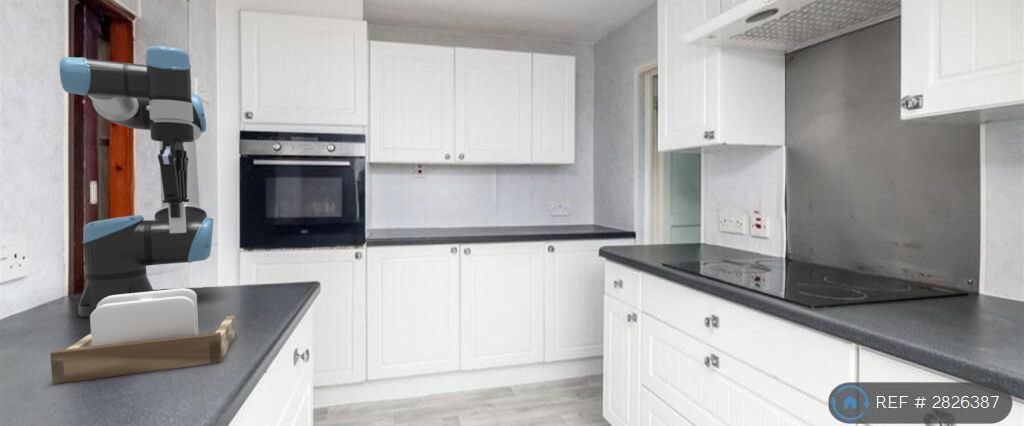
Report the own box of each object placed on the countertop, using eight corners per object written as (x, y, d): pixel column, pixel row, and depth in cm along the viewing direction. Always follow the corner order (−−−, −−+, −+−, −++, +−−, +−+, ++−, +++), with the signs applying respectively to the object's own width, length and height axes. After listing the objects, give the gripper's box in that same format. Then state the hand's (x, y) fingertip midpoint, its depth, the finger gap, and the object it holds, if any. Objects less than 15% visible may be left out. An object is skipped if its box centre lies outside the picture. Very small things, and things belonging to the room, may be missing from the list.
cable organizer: (86, 377, 78) (81, 308, 77) (102, 357, 87) (98, 294, 86) (196, 360, 85) (192, 296, 84) (200, 342, 94) (197, 285, 93)
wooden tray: (97, 349, 90) (96, 324, 90) (235, 334, 99) (234, 311, 99) (52, 384, 75) (50, 353, 75) (220, 362, 84) (218, 334, 83)
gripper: (160, 125, 105) (166, 230, 107) (139, 118, 93) (146, 236, 95) (199, 126, 108) (205, 228, 110) (184, 120, 96) (190, 235, 98)
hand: (178, 232), depth 103 cm, fingers closed
